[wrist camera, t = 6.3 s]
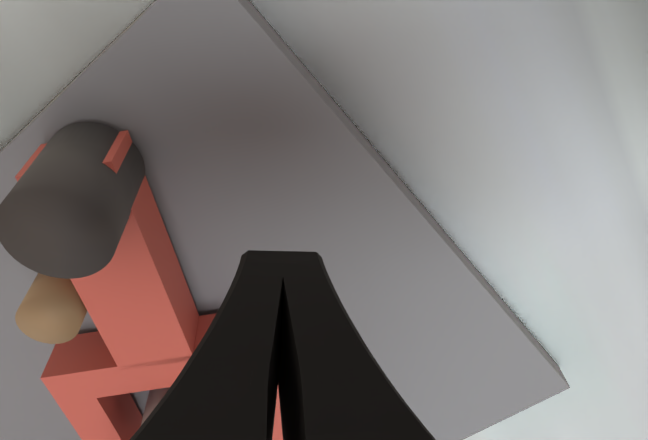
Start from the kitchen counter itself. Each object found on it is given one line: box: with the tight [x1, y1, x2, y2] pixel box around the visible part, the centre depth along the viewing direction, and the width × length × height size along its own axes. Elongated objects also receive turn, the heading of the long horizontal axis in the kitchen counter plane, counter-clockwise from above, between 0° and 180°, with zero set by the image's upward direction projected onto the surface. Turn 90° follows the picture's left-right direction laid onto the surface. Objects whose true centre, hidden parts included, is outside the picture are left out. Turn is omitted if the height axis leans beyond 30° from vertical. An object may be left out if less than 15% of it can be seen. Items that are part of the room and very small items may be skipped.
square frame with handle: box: [0, 122, 283, 440], centre depth 16 cm, size 14×7×3 cm, turn 8°
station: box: [0, 0, 570, 440], centre depth 17 cm, size 18×19×7 cm
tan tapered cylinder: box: [15, 273, 87, 344], centre depth 15 cm, size 2×2×2 cm
